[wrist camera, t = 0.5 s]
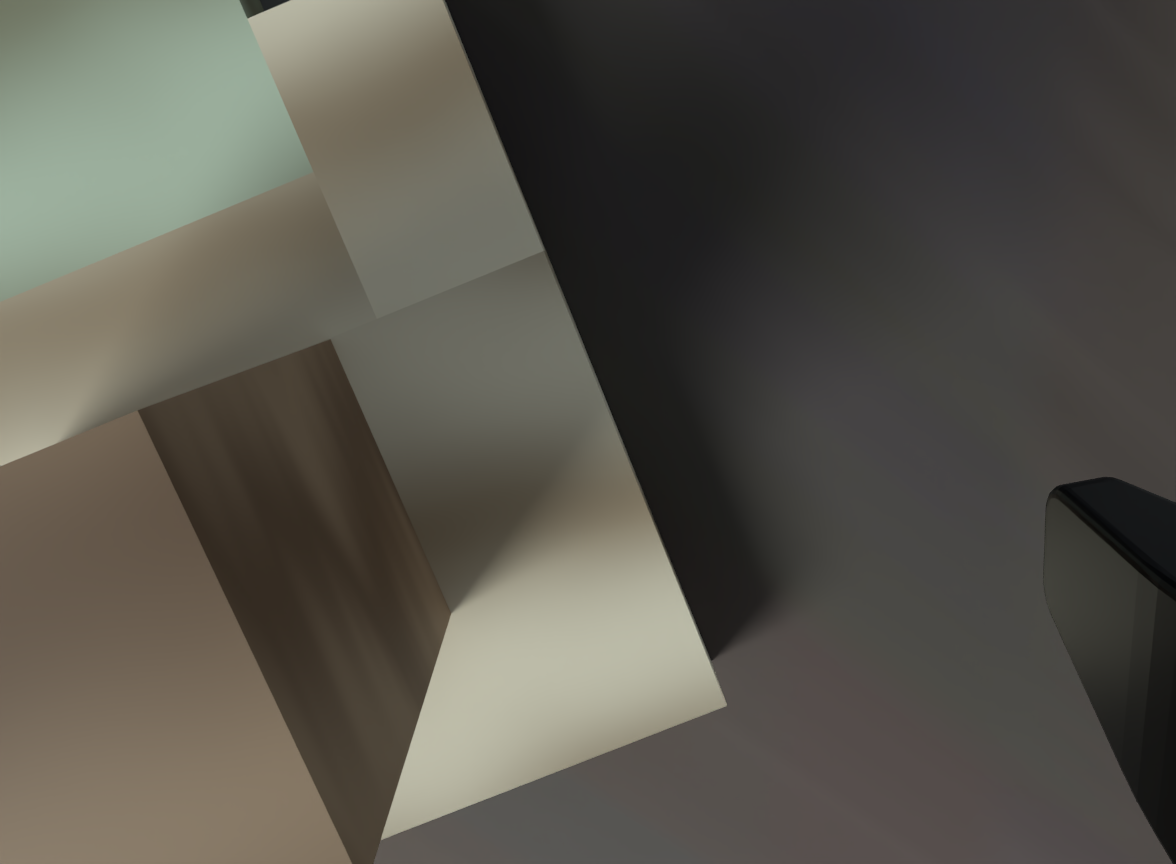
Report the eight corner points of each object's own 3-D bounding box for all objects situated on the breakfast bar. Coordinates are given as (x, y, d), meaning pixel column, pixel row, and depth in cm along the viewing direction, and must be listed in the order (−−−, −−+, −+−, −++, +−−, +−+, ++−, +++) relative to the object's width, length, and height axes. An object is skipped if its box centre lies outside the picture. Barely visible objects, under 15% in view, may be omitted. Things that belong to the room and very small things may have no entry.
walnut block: (451, 613, 23) (363, 890, 13) (181, 720, 23) (-108, 1072, 13) (330, 338, 22) (137, 410, 12) (50, 453, 22) (-367, 616, 12)
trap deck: (711, 661, 26) (727, 705, 23) (114, 894, 26) (67, 961, 24) (316, -318, 22) (285, -389, 20) (-360, -25, 23) (-471, -59, 20)
